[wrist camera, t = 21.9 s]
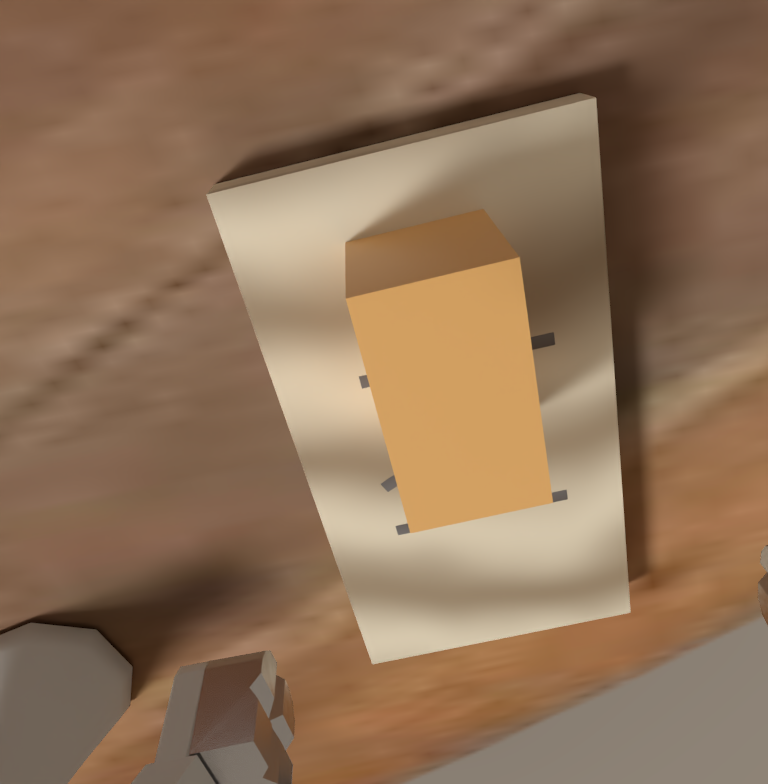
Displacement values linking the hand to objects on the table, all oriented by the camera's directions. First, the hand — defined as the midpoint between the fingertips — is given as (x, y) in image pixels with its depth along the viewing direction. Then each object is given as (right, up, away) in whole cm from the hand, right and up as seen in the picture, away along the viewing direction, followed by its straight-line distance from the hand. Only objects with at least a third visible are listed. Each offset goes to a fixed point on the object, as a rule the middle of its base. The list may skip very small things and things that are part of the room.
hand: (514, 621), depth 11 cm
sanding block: (0, +6, +12) cm, 13 cm away
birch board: (+1, +3, +16) cm, 16 cm away
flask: (-18, -10, +22) cm, 30 cm away
